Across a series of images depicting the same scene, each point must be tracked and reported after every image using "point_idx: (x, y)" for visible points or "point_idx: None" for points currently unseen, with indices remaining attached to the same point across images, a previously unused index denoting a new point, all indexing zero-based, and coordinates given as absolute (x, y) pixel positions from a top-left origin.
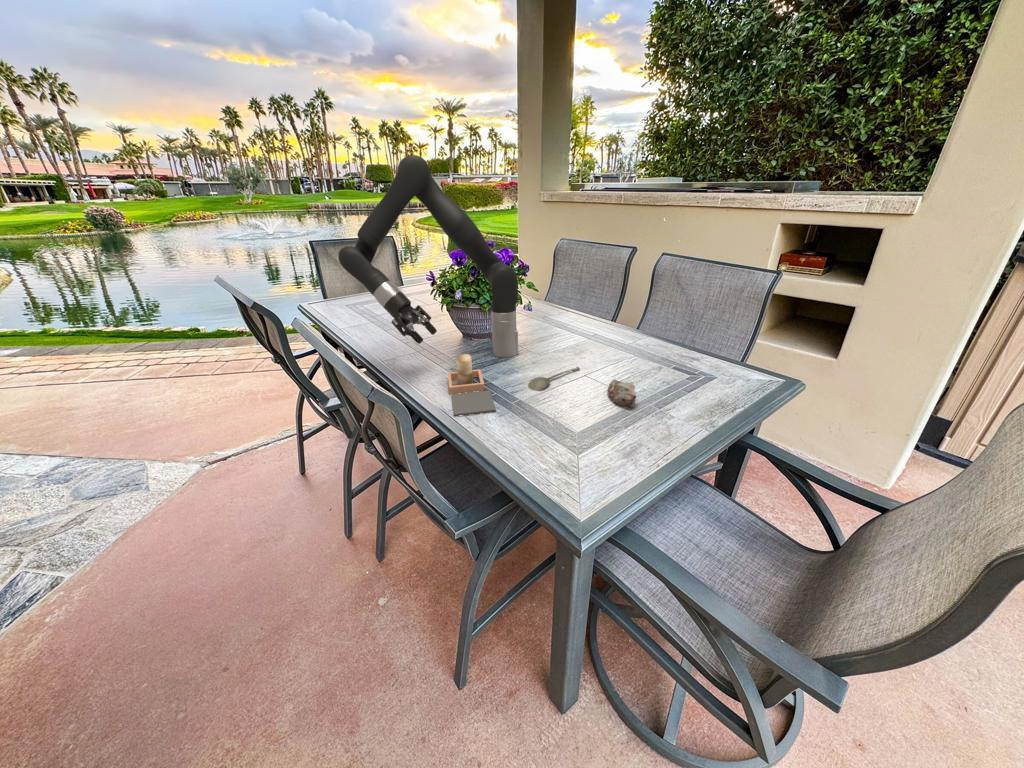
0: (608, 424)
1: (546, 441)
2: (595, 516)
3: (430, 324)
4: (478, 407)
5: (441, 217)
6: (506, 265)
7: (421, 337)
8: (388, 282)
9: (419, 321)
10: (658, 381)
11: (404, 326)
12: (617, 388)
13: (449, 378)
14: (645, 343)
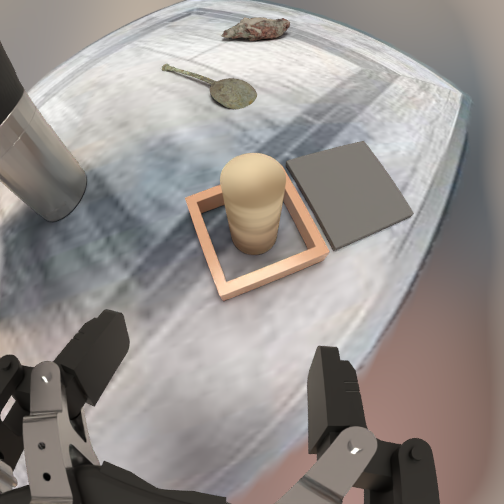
0: (329, 47)
1: (396, 92)
2: (452, 85)
3: (79, 353)
4: (370, 170)
5: None
6: None
7: (324, 358)
8: None
9: (85, 454)
10: (207, 22)
11: (426, 493)
12: (260, 25)
13: (265, 273)
14: (95, 48)
